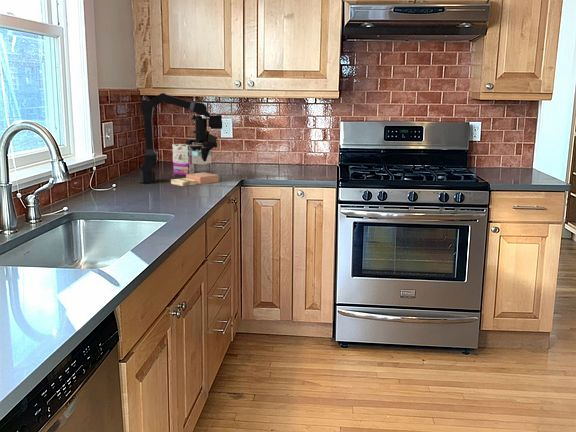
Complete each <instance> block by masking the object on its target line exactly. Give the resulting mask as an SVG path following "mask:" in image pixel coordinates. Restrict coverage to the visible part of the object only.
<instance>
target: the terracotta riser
mask: <svg viewBox="0 0 576 432" xmlns="http://www.w3.org/2000/svg"><path fill="white" fill-rule="evenodd" d="M185 178H187V179H192V180H197V184H196V185H205V184H206V185H208V184H213V183H219V174H216V173H215V174H214V173H209V172H204V171H203V172H195V173H194V174H186V176H185Z"/></svg>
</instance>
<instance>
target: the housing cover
mask: <svg viewBox="0 0 576 432" xmlns="http://www.w3.org/2000/svg"><path fill="white" fill-rule="evenodd" d="M192 155H194V156H202V153H201V149H200V151H199V150H196V151H192ZM208 155H211V156H212V151H211V150H210V151H209V153H208Z"/></svg>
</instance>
